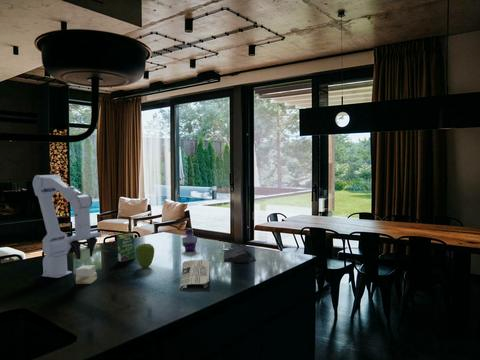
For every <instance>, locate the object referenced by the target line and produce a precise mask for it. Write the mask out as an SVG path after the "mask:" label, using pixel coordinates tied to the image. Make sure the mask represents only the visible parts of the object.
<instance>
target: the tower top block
mask: <svg viewBox="0 0 480 360" xmlns="http://www.w3.org/2000/svg"><path fill="white" fill-rule="evenodd" d="M95 272H96V265H95V264H93V265H92V264H90V265H88V264H87V265H81V266H79V267H78V268H76V269H75V275H76V276H75V278H76V277H88V276H91V275H93V274H94V273H95Z"/></svg>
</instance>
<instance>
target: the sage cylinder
mask: <svg viewBox="0 0 480 360" xmlns="http://www.w3.org/2000/svg"><path fill="white" fill-rule="evenodd" d="M77 260H78V263H79V264H80V263H81V264H82V263H88V262H90V261H91V257H90V248H88V247H80V259H77Z"/></svg>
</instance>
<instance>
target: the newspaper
mask: <svg viewBox="0 0 480 360" xmlns="http://www.w3.org/2000/svg"><path fill="white" fill-rule="evenodd" d="M210 264H211V263H210V261H208V260H204V259H193V260H191V259H190V260H186V261H183V262H182V267H181V276H180V284H179V289H180V288H181V289H180V290H184V289H183V286H184V285H202V286H203V287H202V288H207V287H208V282H209V281H210Z"/></svg>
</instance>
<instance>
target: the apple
mask: <svg viewBox="0 0 480 360" xmlns="http://www.w3.org/2000/svg"><path fill="white" fill-rule="evenodd" d="M154 257H155V248H154V246H153V244H151V243H142V244H138V245H137V246H136V248H135V259H136V261H137V263H138V265H139V266H140V267H141V269H148V268H149V267H150V266H151V265H152V263H153V259H154Z"/></svg>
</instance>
